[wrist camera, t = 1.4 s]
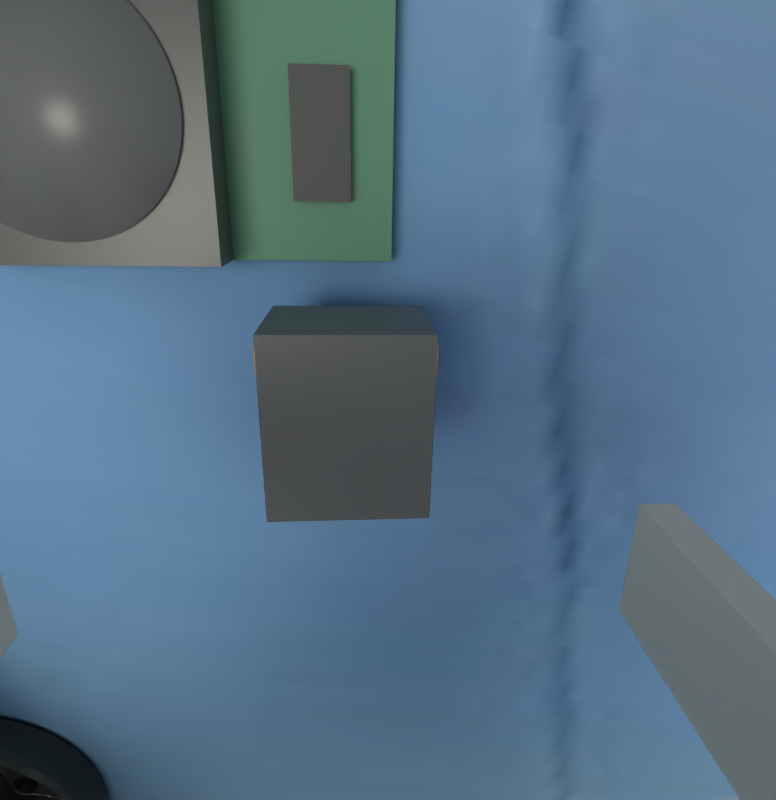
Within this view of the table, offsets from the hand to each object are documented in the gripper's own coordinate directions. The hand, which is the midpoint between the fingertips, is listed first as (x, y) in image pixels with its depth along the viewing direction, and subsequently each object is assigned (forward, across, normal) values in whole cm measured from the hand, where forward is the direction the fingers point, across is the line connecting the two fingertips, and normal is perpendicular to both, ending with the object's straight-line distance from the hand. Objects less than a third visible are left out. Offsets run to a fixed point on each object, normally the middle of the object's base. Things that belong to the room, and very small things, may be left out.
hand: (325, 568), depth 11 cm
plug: (+17, 0, +1) cm, 17 cm away
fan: (+16, +10, -10) cm, 21 cm away
